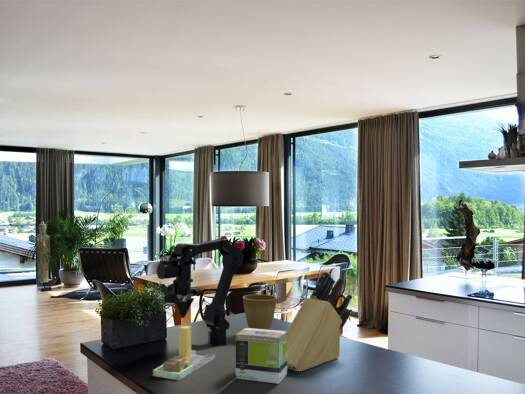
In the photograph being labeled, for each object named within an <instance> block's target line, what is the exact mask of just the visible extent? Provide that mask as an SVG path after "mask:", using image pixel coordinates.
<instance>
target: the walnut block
mask: <svg viewBox="0 0 525 394" xmlns="http://www.w3.org/2000/svg"><path fill="white" fill-rule="evenodd" d="M162 363H163V364H162V365H163V371H168V372H175V373H179V372H180V368H181V361H179V360H172V359H171V358H170V359H168V360H166V361H164V362H162Z"/></svg>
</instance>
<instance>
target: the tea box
mask: <svg viewBox="0 0 525 394" xmlns="http://www.w3.org/2000/svg"><path fill="white" fill-rule="evenodd" d="M286 376H288V368H287V330H278V329H269V330H268V329H255V328H249V327H245V328H244V329H242V330H240V331H239V332H237V333H236V334H235V379H237V380H239V379H240V380H246V381H255V382H261V383H262V382H263V383H269V384H270V383H271V384H280V383H281V382H282V381H283V379H284V378H285V377H286Z"/></svg>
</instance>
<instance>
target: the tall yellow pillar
mask: <svg viewBox="0 0 525 394" xmlns="http://www.w3.org/2000/svg"><path fill="white" fill-rule="evenodd" d="M191 350H192V326H188V325H182V326H180V327H179V328H178V356H181V357H187V367H188V365H190V364H191Z"/></svg>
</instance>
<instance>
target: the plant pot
mask: <svg viewBox="0 0 525 394" xmlns="http://www.w3.org/2000/svg"><path fill="white" fill-rule="evenodd" d="M242 300H243V302H242V303H243V309H244V314H245V320H246V323H247V326H248V327H247V328H255V329H268V330H271V326H272V323H273V319H274V315H275V312H276V307H277V301H278V297H277V296H275V295H270V294H246V295H243V296H242Z"/></svg>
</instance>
